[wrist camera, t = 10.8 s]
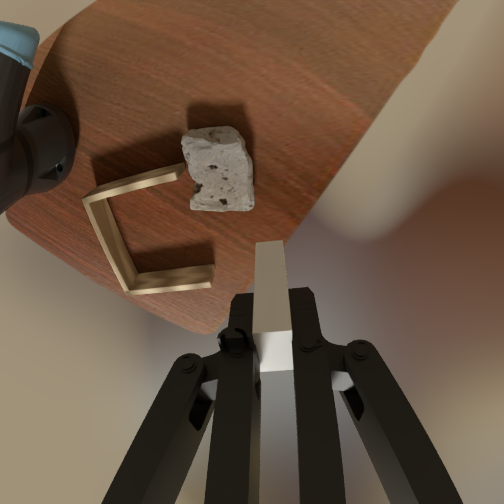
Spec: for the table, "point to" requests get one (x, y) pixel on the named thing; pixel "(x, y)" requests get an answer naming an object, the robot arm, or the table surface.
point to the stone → (219, 169)
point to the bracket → (116, 246)
